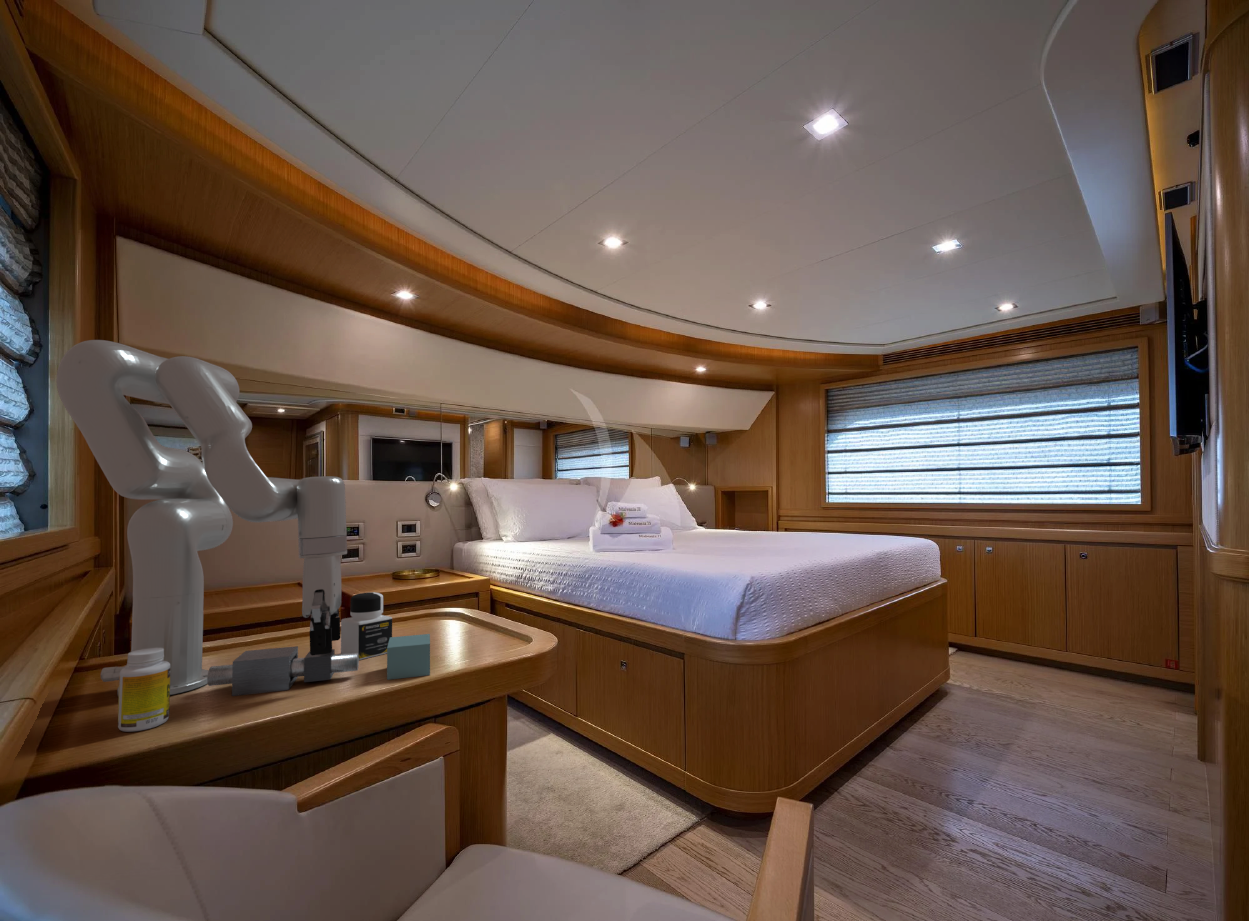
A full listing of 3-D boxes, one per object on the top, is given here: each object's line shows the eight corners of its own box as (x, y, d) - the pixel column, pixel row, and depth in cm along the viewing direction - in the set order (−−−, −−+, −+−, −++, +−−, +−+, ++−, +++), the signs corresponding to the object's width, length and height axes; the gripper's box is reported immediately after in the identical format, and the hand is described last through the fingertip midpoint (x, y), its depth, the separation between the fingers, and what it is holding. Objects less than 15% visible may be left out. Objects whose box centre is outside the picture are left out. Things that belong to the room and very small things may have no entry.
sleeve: (231, 696, 93) (232, 661, 93) (244, 683, 100) (245, 650, 100) (288, 690, 96) (289, 656, 96) (297, 677, 102) (298, 646, 102)
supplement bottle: (175, 723, 82) (177, 649, 83) (124, 736, 78) (127, 658, 78) (161, 715, 85) (163, 644, 86) (112, 727, 81) (114, 652, 81)
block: (387, 679, 100) (387, 647, 100) (389, 667, 107) (389, 637, 108) (430, 675, 102) (430, 643, 102) (429, 663, 110) (429, 633, 110)
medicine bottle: (358, 660, 112) (359, 597, 113) (340, 655, 116) (340, 594, 117) (392, 652, 118) (393, 592, 119) (373, 647, 122) (374, 589, 123)
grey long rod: (205, 693, 93) (206, 667, 93) (214, 684, 97) (215, 660, 97) (356, 676, 100) (356, 653, 100) (359, 669, 104) (359, 646, 104)
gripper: (308, 546, 108) (311, 639, 108) (287, 553, 92) (290, 663, 91) (352, 542, 111) (355, 633, 110) (339, 549, 95) (343, 656, 94)
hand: (326, 647), depth 101 cm, fingers open, 9 cm apart
